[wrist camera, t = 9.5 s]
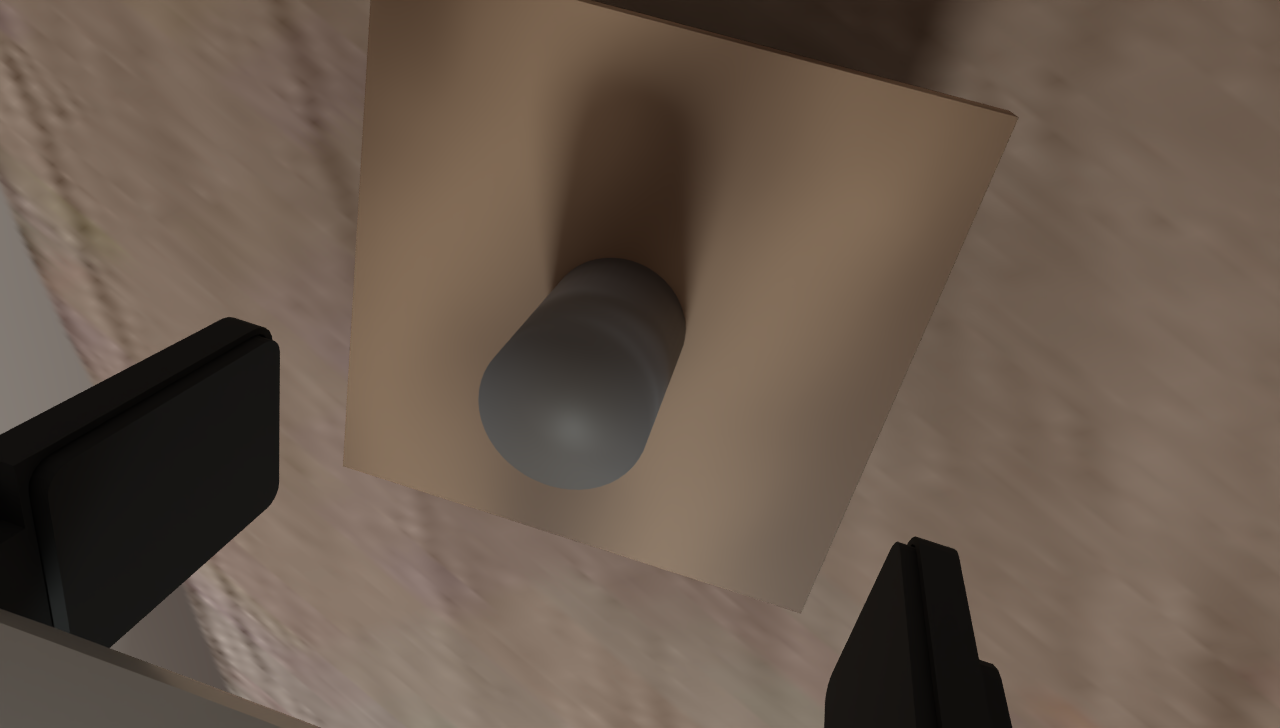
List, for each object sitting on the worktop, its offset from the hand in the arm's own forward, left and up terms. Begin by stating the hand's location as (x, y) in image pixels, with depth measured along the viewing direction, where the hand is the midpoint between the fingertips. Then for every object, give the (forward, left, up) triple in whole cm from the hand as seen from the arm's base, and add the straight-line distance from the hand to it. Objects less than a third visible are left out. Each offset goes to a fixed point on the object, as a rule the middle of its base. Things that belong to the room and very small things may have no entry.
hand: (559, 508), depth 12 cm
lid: (+1, 0, -7) cm, 7 cm away
